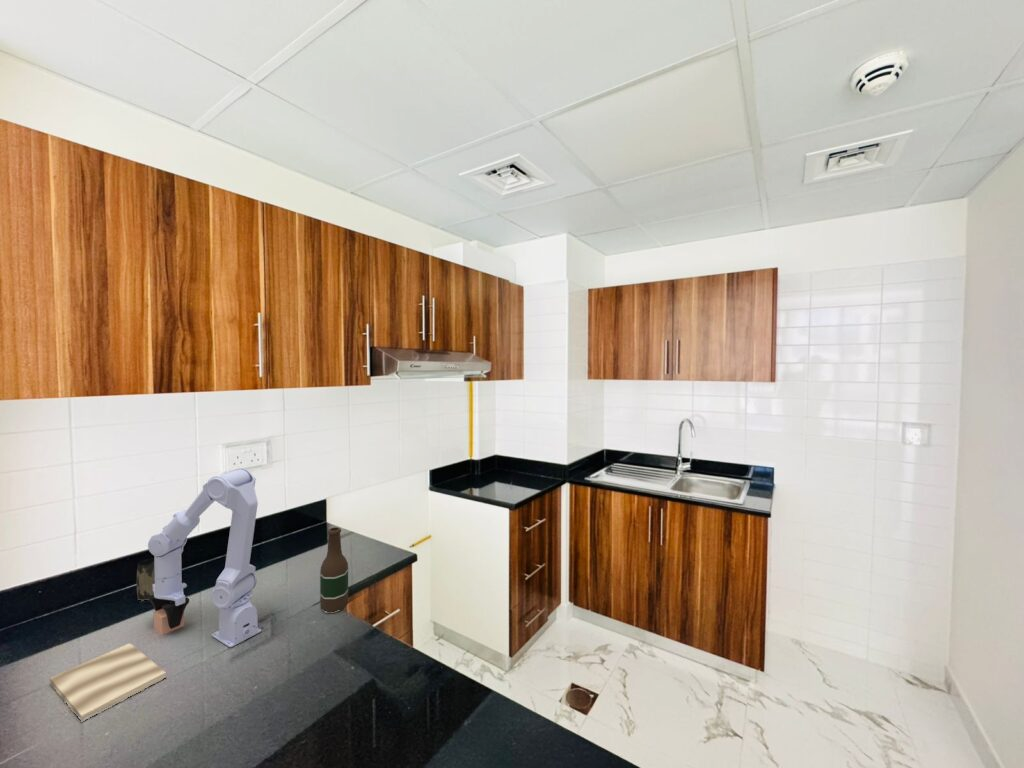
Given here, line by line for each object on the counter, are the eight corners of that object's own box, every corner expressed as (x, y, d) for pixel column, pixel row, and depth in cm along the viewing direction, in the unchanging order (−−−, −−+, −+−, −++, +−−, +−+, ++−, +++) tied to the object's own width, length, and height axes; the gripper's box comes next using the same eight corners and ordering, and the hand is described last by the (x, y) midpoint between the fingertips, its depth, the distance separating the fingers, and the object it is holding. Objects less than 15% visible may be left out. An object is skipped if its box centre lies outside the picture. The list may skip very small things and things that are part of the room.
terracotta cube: (184, 626, 116) (183, 608, 116) (162, 636, 112) (161, 617, 112) (175, 620, 119) (175, 603, 118) (153, 629, 114) (153, 612, 114)
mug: (143, 603, 127) (142, 564, 126) (132, 599, 129) (132, 560, 128) (172, 590, 134) (172, 553, 134) (162, 586, 136) (161, 550, 136)
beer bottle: (320, 616, 121) (319, 535, 120) (320, 602, 128) (320, 526, 128) (348, 611, 124) (348, 531, 124) (347, 597, 132) (347, 522, 131)
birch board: (165, 678, 97) (165, 672, 97) (81, 722, 84) (81, 715, 84) (130, 648, 106) (129, 643, 106) (50, 684, 94) (49, 677, 94)
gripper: (198, 574, 115) (198, 623, 115) (173, 562, 122) (174, 607, 122) (166, 586, 108) (167, 637, 109) (142, 572, 116) (143, 620, 116)
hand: (169, 622), depth 115 cm, fingers open, 6 cm apart
